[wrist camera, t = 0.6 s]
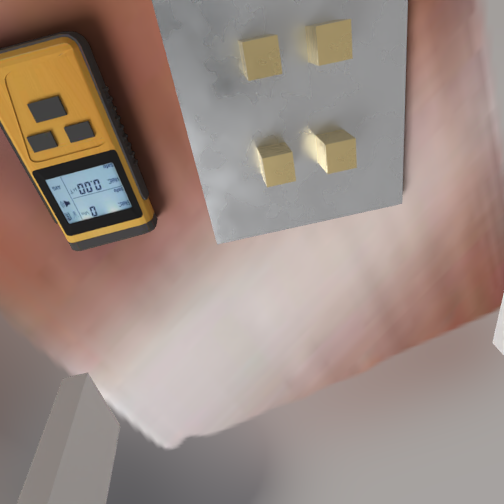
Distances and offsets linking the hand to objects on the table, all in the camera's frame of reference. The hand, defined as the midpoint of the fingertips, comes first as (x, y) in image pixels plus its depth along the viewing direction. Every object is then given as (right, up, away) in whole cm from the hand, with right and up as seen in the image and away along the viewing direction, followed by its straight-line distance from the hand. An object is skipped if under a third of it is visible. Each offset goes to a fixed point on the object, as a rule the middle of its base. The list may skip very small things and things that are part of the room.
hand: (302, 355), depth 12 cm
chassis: (+2, +16, +19) cm, 25 cm away
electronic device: (-16, +12, +20) cm, 28 cm away
